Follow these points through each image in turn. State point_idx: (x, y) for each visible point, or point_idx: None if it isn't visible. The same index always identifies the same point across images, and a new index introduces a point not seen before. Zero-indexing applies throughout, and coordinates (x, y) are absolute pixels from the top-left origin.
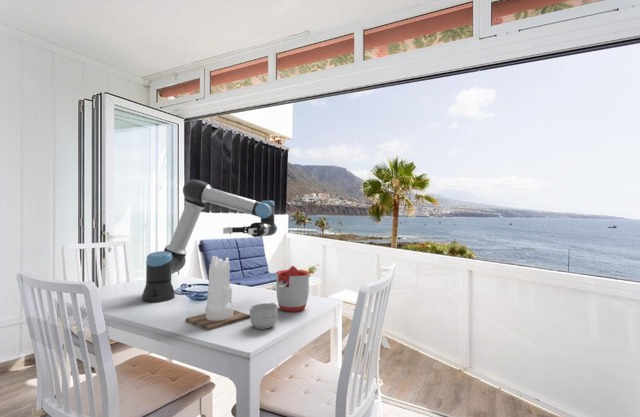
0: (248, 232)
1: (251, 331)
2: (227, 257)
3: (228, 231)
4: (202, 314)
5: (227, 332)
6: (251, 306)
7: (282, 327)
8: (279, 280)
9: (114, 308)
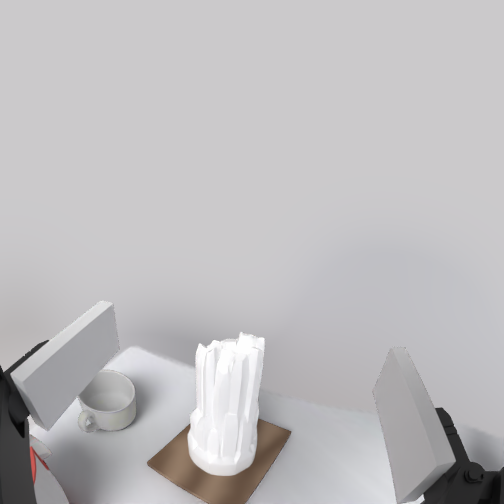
0: (116, 333)
1: None
2: (212, 349)
3: (392, 426)
4: (272, 458)
5: (176, 396)
6: (131, 399)
7: (78, 408)
8: (38, 459)
9: (475, 436)
